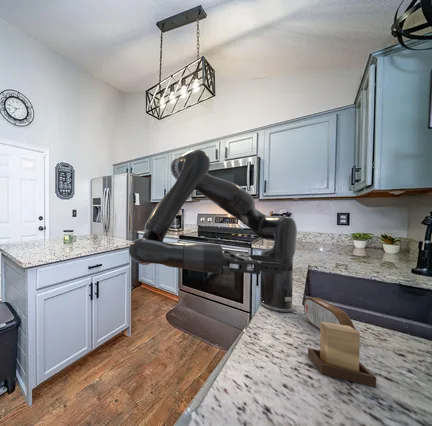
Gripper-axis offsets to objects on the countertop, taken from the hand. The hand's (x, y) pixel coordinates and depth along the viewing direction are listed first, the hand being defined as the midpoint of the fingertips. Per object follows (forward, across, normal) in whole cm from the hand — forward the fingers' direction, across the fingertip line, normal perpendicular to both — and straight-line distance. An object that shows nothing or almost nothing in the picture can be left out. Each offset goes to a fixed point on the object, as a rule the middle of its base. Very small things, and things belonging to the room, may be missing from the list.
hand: (275, 264), depth 50 cm
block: (+12, 0, +22) cm, 24 cm away
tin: (+17, +18, +22) cm, 34 cm away
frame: (+12, 0, +22) cm, 25 cm away
